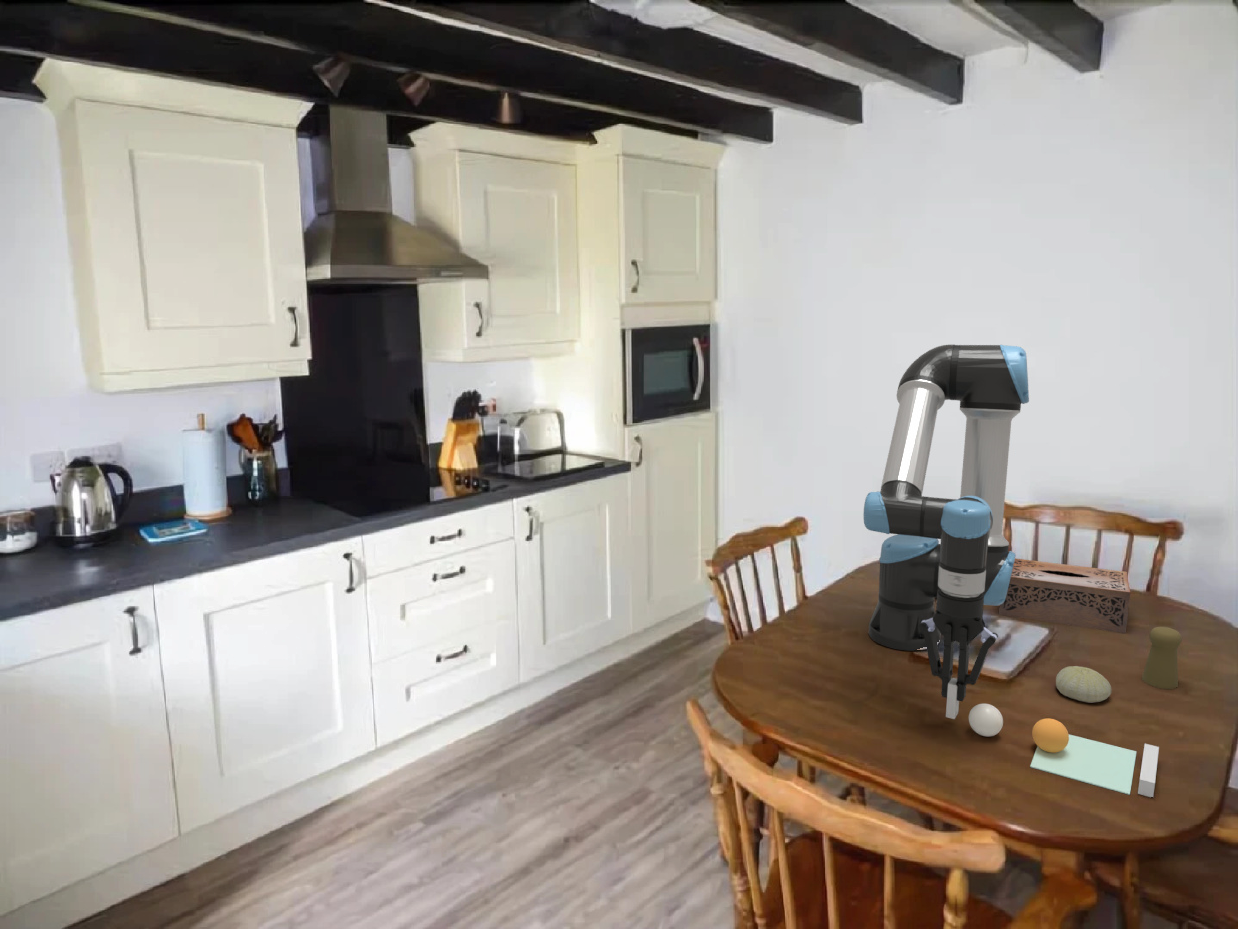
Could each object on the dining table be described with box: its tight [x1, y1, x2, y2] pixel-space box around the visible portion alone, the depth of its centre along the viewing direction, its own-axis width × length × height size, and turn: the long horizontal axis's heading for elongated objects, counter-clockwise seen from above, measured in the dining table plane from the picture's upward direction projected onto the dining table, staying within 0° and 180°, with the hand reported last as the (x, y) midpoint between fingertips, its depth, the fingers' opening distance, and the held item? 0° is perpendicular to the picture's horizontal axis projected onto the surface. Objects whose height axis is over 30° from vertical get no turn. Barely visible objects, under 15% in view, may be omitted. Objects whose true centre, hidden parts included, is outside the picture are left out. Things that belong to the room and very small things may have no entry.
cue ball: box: [968, 703, 1004, 737], centre depth 146 cm, size 6×6×6 cm
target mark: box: [1029, 733, 1137, 796], centre depth 139 cm, size 14×14×1 cm
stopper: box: [1137, 743, 1160, 798], centre depth 133 cm, size 2×12×2 cm, turn 145°
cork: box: [1141, 626, 1183, 690], centre depth 163 cm, size 6×6×11 cm
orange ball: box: [1031, 717, 1069, 753], centre depth 141 cm, size 6×6×6 cm
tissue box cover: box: [998, 557, 1131, 634], centre depth 197 cm, size 26×14×10 cm, turn 62°
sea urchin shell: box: [1055, 665, 1112, 704], centre depth 160 cm, size 9×8×8 cm
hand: (952, 714), depth 150 cm, fingers closed
